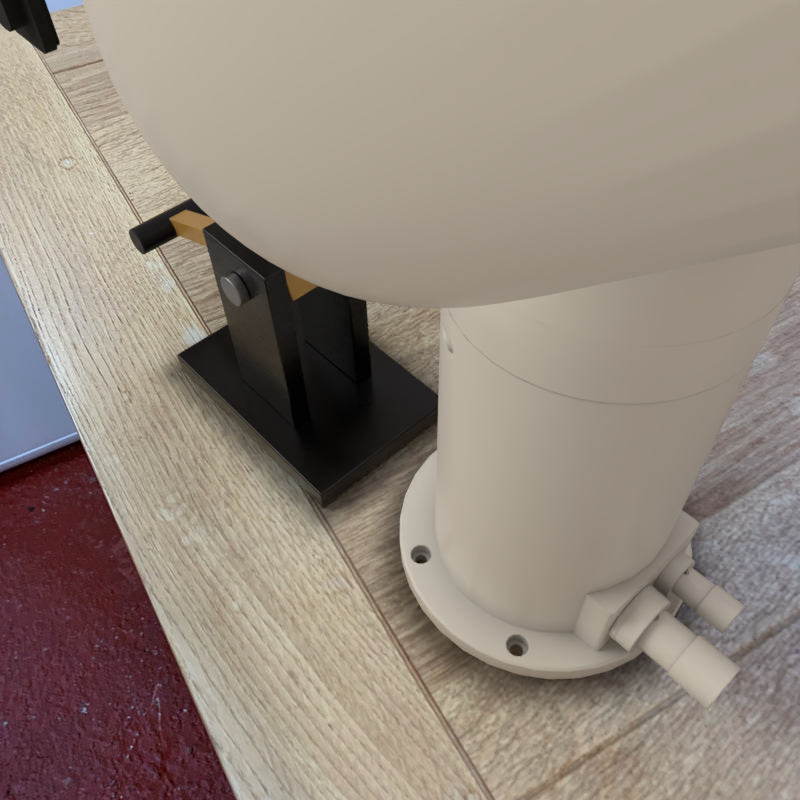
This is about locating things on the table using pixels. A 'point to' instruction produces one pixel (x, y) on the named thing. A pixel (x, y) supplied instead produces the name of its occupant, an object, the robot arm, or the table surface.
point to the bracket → (304, 375)
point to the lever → (192, 236)
